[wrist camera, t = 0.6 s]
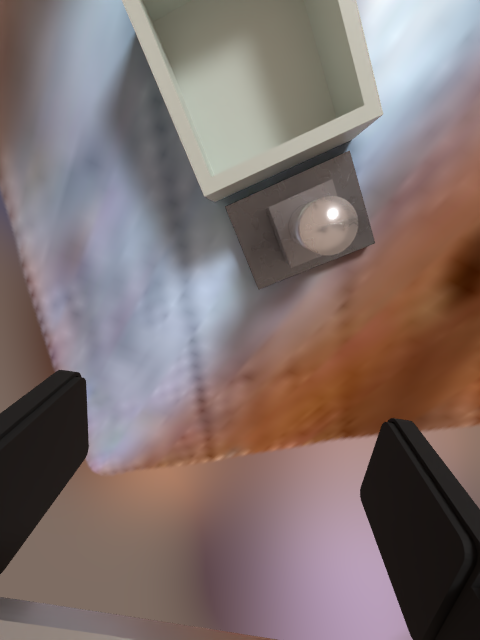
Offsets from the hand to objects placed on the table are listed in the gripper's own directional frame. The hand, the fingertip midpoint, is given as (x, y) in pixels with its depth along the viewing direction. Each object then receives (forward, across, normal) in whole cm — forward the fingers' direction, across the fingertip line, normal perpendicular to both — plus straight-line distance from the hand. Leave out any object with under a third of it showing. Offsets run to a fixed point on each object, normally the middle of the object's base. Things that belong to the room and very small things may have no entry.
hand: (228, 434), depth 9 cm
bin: (+29, +3, -20) cm, 35 cm away
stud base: (+29, -5, -6) cm, 30 cm away
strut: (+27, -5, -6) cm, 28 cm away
